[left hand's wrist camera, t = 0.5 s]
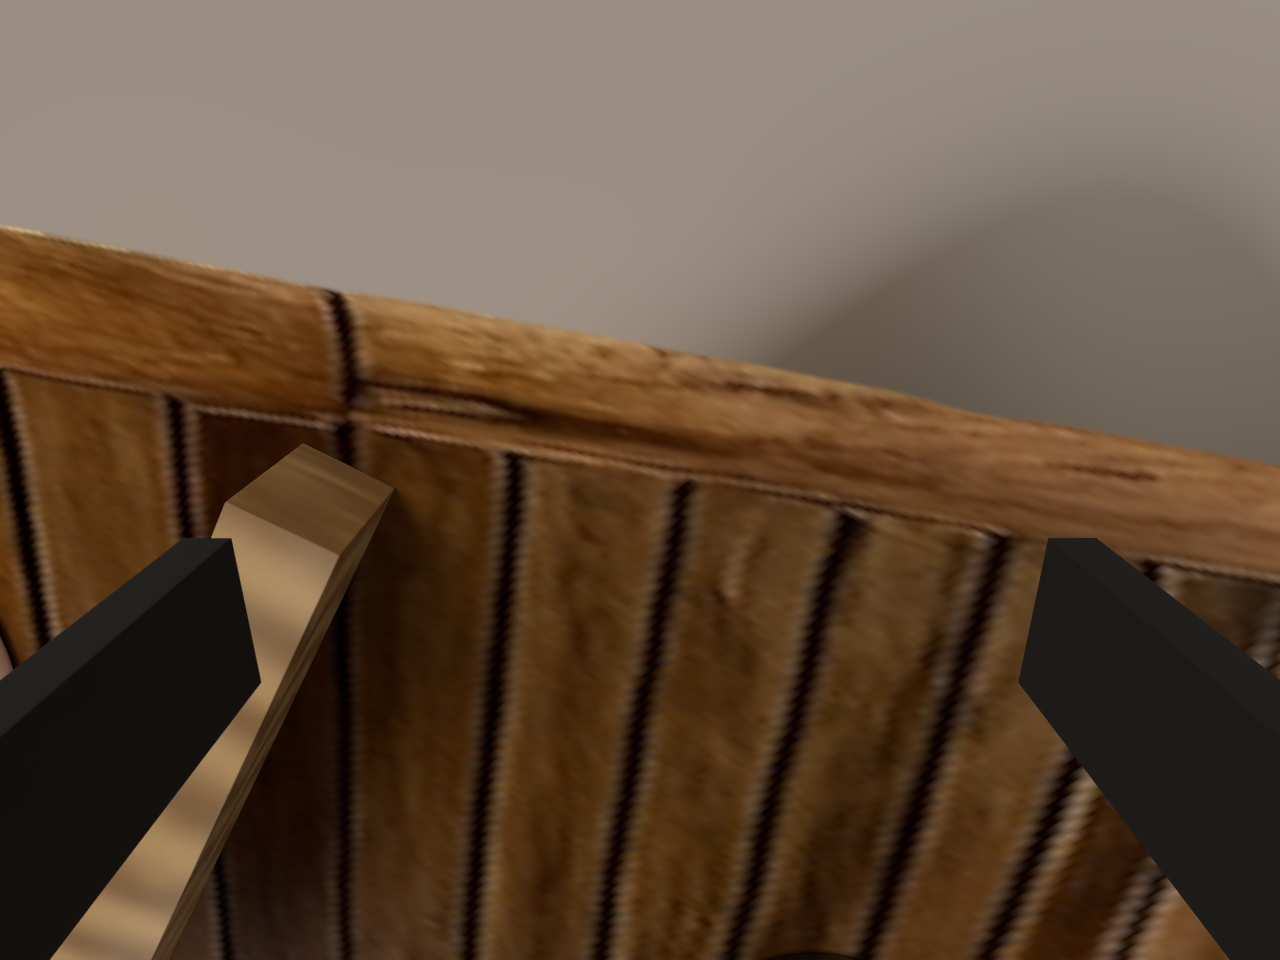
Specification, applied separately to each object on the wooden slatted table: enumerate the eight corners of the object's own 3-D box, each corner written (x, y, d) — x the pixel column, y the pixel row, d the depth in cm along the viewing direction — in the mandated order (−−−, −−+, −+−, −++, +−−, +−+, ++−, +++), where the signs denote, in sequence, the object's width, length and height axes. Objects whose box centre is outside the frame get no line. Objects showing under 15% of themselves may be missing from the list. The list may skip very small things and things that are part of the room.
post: (303, 442, 39) (225, 502, 31) (395, 487, 40) (340, 555, 32) (43, 1055, 55) (-48, 1188, 48) (112, 1077, 56) (33, 1211, 49)
